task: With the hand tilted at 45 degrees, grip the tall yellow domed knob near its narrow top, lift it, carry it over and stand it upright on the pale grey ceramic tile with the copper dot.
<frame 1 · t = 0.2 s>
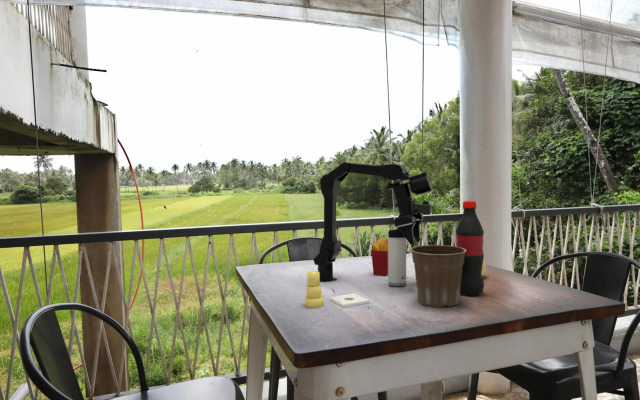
hand: (415, 242, 144), 15 cm above the table, tool pointing down, fingers open, 9 cm apart
travel mug: (397, 285, 148), on the table
plant pot: (438, 302, 127), on the table
sculpture: (469, 277, 158), on the table
tile: (349, 301, 129), on the table
yellow domed knob: (314, 305, 126), on the table
cola bottle: (470, 294, 135), on the table
french fries: (384, 274, 166), on the table
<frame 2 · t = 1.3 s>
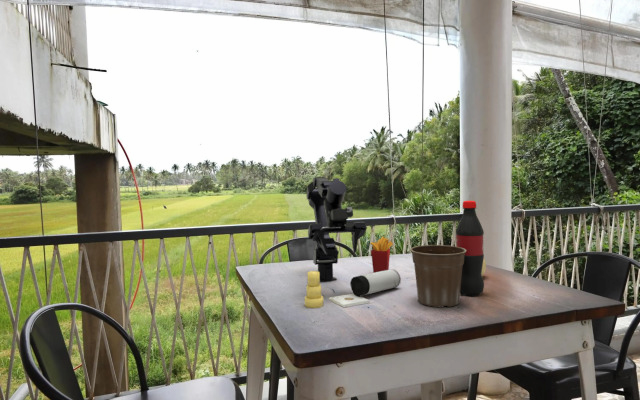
hand: (341, 253, 132), 14 cm above the table, tool tilted 35°, fingers open, 9 cm apart
travel mug: (394, 278, 145), point 3 cm above the table, touching tile
everything else where it was.
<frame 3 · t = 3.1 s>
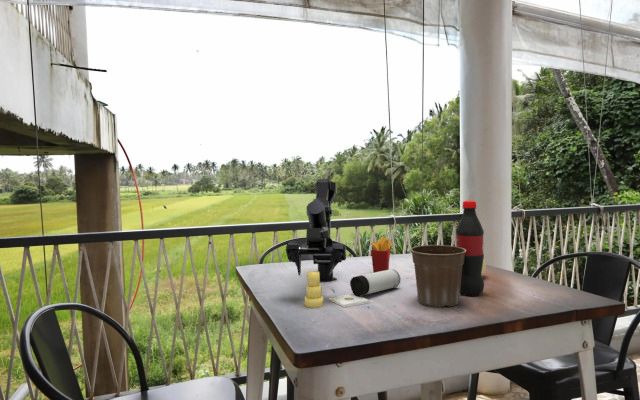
hand: (314, 274, 127), 9 cm above the table, tool tilted 45°, fingers open, 9 cm apart
nothing on the table moved.
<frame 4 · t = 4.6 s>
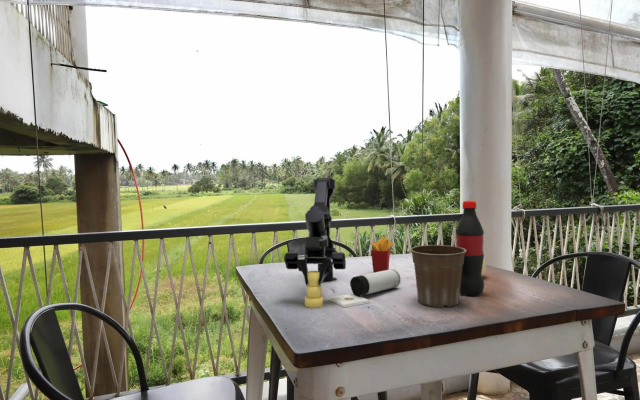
hand: (313, 284, 124), 7 cm above the table, tool tilted 45°, fingers closed on yellow domed knob, 4 cm apart
yellow domed knob: (314, 305, 126), on the table, touching gripper
everything else where it was.
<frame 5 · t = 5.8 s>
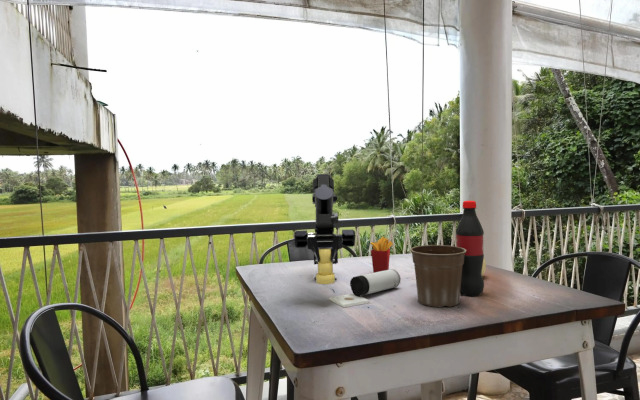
hand: (325, 261, 125), 13 cm above the table, tool tilted 45°, fingers closed on yellow domed knob, 4 cm apart
yellow domed knob: (325, 282, 127), point 7 cm above the table, touching gripper
everything else where it was.
when the fingers open (9 cm above the table, at t = 7.4 s): yellow domed knob drops 1 cm, resting on tile.
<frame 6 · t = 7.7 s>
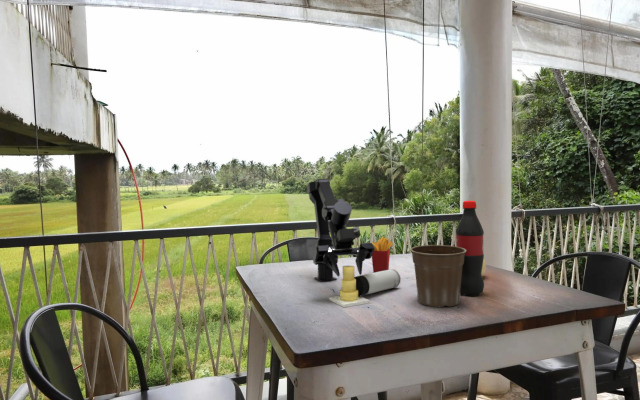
hand: (349, 274, 127), 9 cm above the table, tool tilted 45°, fingers open, 7 cm apart
yellow domed knob: (349, 298, 129), point 1 cm above the table, touching tile
everything else where it was.
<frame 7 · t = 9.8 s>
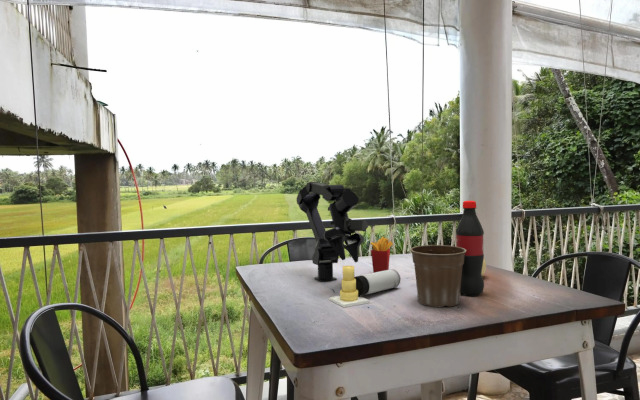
hand: (350, 260, 141), 10 cm above the table, tool tilted 25°, fingers open, 9 cm apart
nothing on the table moved.
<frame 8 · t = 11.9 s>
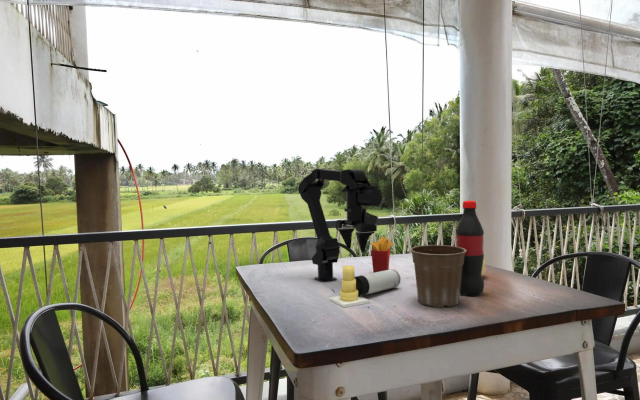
hand: (355, 250, 146), 13 cm above the table, tool pointing down, fingers open, 9 cm apart
nothing on the table moved.
at the end: yellow domed knob inside the target area on the tile (0.0 cm from its centre), point 0.8 cm above the tile's base; yellow domed knob tilted 0°; the gripper is holding nothing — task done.
